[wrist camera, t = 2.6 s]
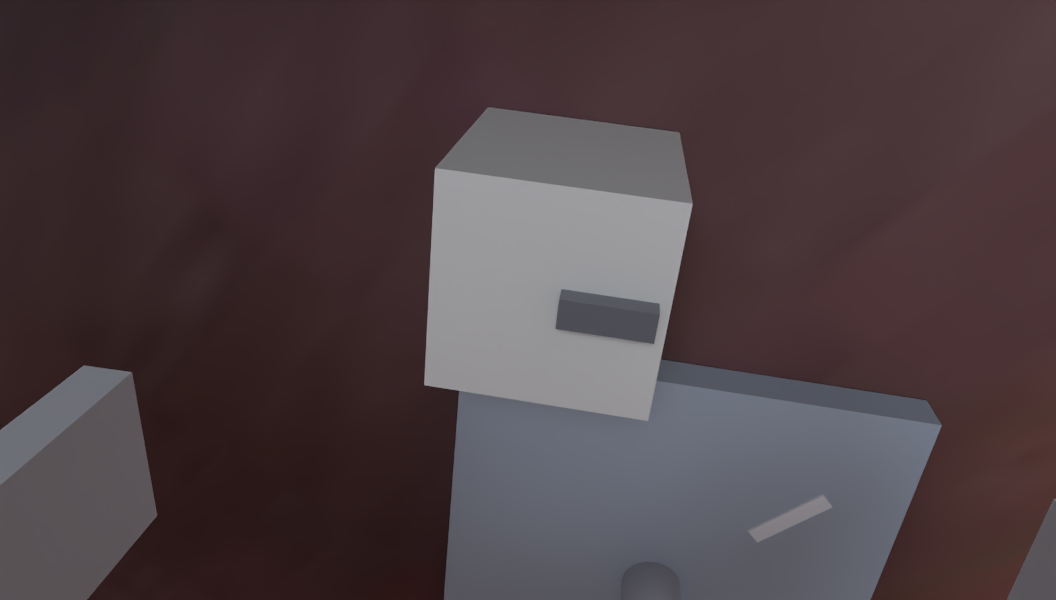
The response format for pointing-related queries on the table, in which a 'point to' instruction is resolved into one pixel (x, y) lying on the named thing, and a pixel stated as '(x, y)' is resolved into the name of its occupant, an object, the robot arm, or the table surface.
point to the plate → (685, 492)
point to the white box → (555, 261)
